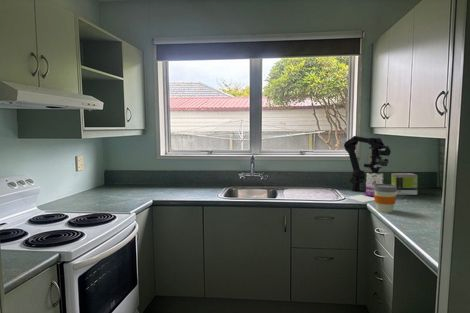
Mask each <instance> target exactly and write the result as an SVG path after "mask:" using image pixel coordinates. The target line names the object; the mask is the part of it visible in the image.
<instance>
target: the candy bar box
mask: <svg viewBox="0 0 470 313" xmlns="http://www.w3.org/2000/svg"><path fill="white" fill-rule="evenodd" d="M375 184H384V173H379V172H378V173H373V172H370V173H369V172H367V173H366V174H365V196H368V197H373V198H374V194H375V192H374V185H375Z"/></svg>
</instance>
